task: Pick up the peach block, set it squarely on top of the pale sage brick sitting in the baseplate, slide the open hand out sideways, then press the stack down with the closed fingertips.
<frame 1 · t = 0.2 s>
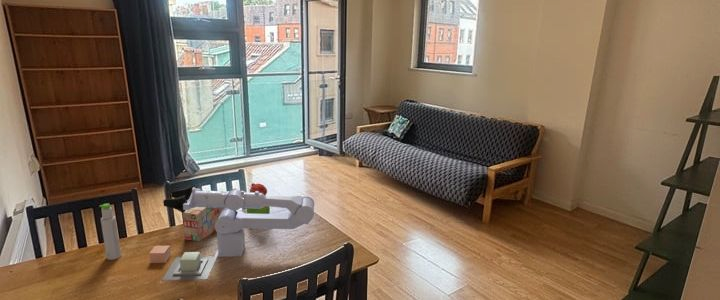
hand: (167, 198, 141), 21 cm above the table, tool horizontal, fingers open, 7 cm apart
peach block: (160, 260, 142), on the table
sage brick: (191, 267, 137), point 1 cm above the table, touching baseplate
bottle: (114, 257, 143), on the table
stacking bear: (259, 223, 172), on the table
baseplate: (191, 269, 137), on the table
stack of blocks: (207, 230, 165), on the table
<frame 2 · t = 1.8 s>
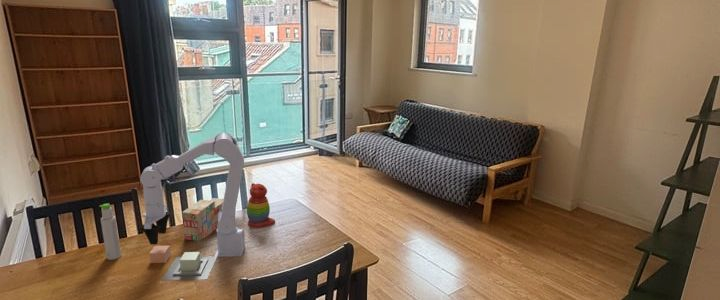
hand: (158, 238, 139), 9 cm above the table, tool pointing down, fingers open, 7 cm apart
nothing on the table moved.
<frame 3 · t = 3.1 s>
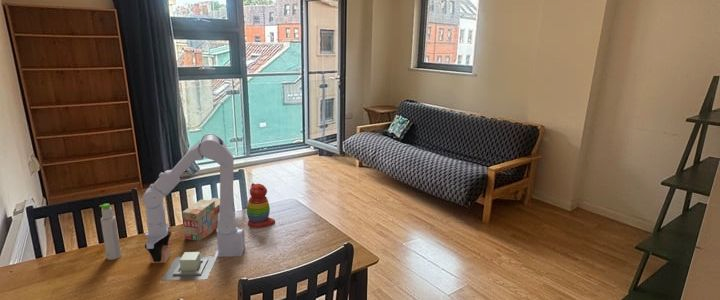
hand: (160, 256, 141), 1 cm above the table, tool pointing down, fingers closed on peach block, 5 cm apart
peach block: (160, 260, 142), on the table, touching gripper
everything else where it was.
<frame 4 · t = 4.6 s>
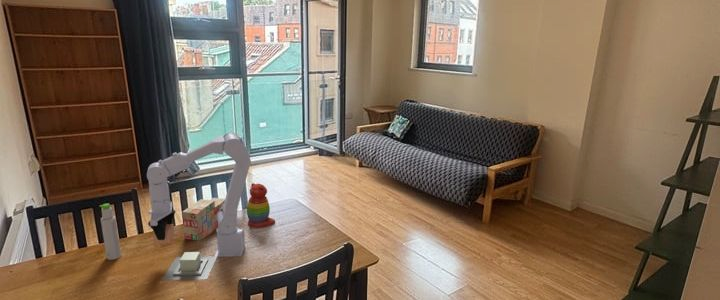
hand: (164, 235, 138), 10 cm above the table, tool pointing down, fingers closed on peach block, 5 cm apart
peach block: (164, 239, 139), point 9 cm above the table, touching gripper
everything else where it was.
when the fingers open (8 cm above the table, at t = 6.4 s): peach block stays where it is, resting on sage brick.
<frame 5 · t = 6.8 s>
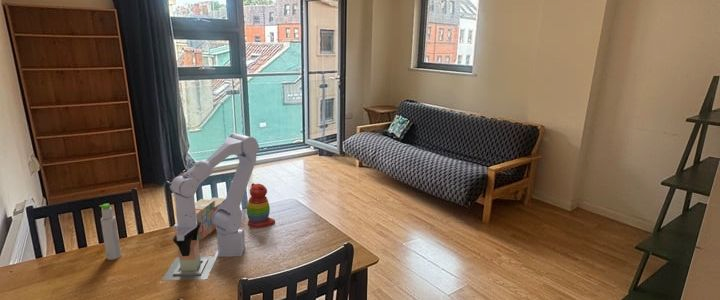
hand: (189, 249, 135), 8 cm above the table, tool pointing down, fingers open, 7 cm apart
peach block: (189, 255, 136), point 5 cm above the table, touching sage brick
sage brick: (191, 267, 137), point 1 cm above the table, touching baseplate, peach block
everything else where it was.
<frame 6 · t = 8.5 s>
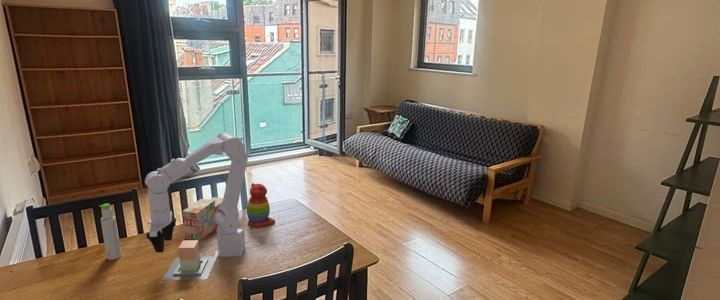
hand: (164, 245, 134), 9 cm above the table, tool pointing down, fingers open, 7 cm apart
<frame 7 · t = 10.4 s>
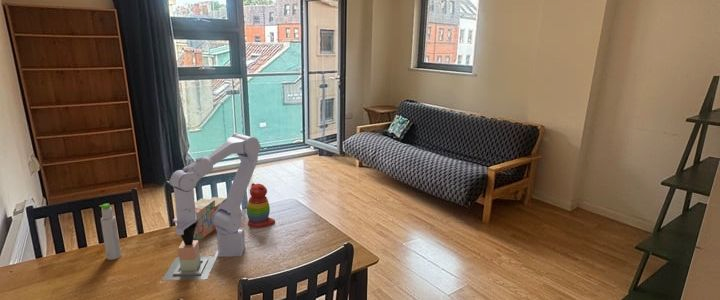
hand: (188, 244, 135), 9 cm above the table, tool pointing down, fingers closed, pressing on peach block
peach block: (189, 256, 136), point 5 cm above the table, touching gripper, sage brick
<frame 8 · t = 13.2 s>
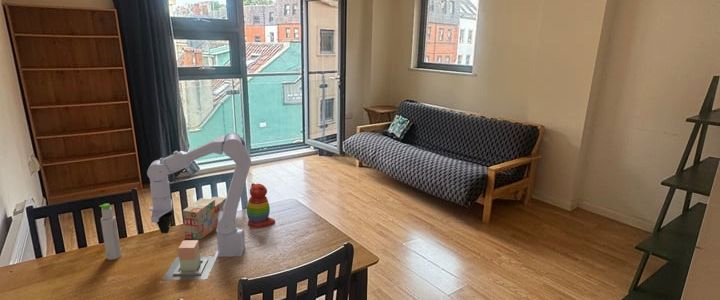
hand: (165, 232, 140), 10 cm above the table, tool pointing down, fingers closed
peach block: (189, 255, 136), point 5 cm above the table, touching sage brick
at the end: peach block 0.1 cm from the sage brick (horizontally); peach block point 5.1 cm above the table; peach block tilted 0° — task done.
